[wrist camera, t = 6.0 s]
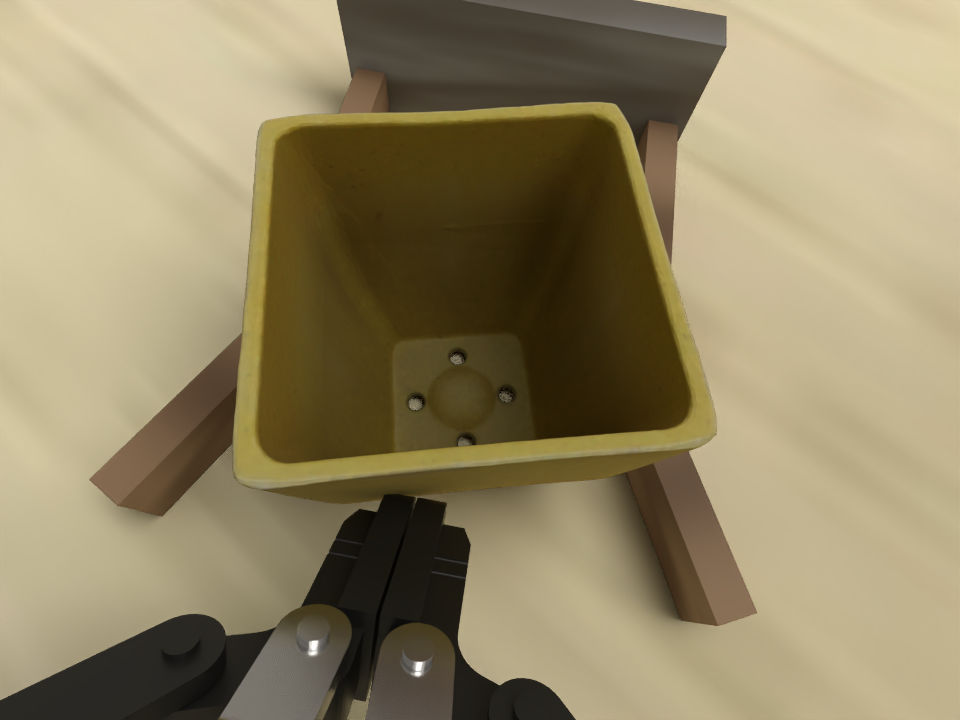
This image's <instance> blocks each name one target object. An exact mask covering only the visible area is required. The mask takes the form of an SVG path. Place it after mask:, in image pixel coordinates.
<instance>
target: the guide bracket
mask: <svg viewBox="0 0 960 720" xmlns="http://www.w3.org/2000/svg"><path fill="white" fill-rule="evenodd" d="M337 5H338V10H339V15H340V20H341V25H342V31H343V36H344V41H345V46H346V51H347V56H348V61H349V67H350V72H351V77H352V81H351V83H350V86H349V88H348V91H347V93H346V96H345V98H344V101H343V103H342V106H341V108H340V111H339V114H349V113H413V112H440V111H466V110H476V109H490V108H500V107H522V106H535V105H545V104H564V103H578V102H582V103H587V102H603V103H613V104H615V105H617V107H618V108H619V109H620V111H621V112H622V114H623V115H624V117H625V119H626V120H627V122H628V124H629V126H630V128H631V130H632V133H633V136H634V139H635V143H636V147H637V150H638V153H639V157H640V162H641V164H642V167H643V172H644V174H645V178H646V181H647V185H648V189H649V193H650V197H651V200H652V204H653V208H654V211H655V215H656V218H657V221H658V224H659V228H660V231H661V235H662V238H663V241H664V245H665V249H666V252H667V255H668V258H669V261H670V265H671V260H672V240H673V220H674V199H675V179H676V159H677V142H678V140H679V138H680V136H681V134H682V132H683V130H684V128H685V126H686V124H687V122H688V120H689V118H690V116H691V115H692V113H693V111H694V109H695V107H696V105H697V103H698V101H699V99H700V97H701V95H702V93H703V91H704V89H705V87H706V85H707V83H708V81H709V79H710V77H711V75H712V73H713V71H714V70H715V68H716V66H717V64H718V62H719V60H720V58H721V56H722V54H723V52H724V50H725V48H726V16H722V15H716V14H711V13H705V12H699V11H693V10H687V9H681V8H676V7H670V6H664V5H658V4H652V3H647V2H641V1H635V0H337ZM241 341H242V333H241V334H240V335H239V336H238V337H237V338H236V339H235V340H234V341H233V342H232V343H231V344H230V345H229V346H228V347H227V348H226V349H225V350H224V351H223V352H222V353H221V354H219V355H218V356H217V357H216V358H215V359H214V360H213V361H212V362H211V363H210V364H209V365H208V366H207V367H206V368H205V369H204V370H203V371H202V372H201V373H200V374H199V375H198V376H197V377H196V378H194V379H193V380H192V381H191V382H190V383H189V384H188V385H187V386H186V387H185V388H184V389H183V390H182V391H181V392H180V393H179V394H178V395H177V396H176V397H175V398H174V399H173V400H172V401H170V402H169V403H168V404H167V405H166V406H165V407H164V408H163V409H162V410H161V411H160V412H159V413H158V414H157V415H156V416H155V417H154V418H153V419H152V420H151V421H150V422H149V423H148V424H147V425H145V426H144V427H143V428H142V429H141V430H140V431H139V432H138V433H137V434H136V435H135V436H134V437H133V438H132V439H131V440H130V441H129V442H128V443H127V444H126V445H125V446H124V447H123V448H121V449H120V450H119V451H118V452H117V453H116V454H115V455H114V456H113V457H112V458H111V459H110V460H109V461H108V462H107V463H106V464H105V465H104V466H103V467H102V468H101V469H100V470H99V471H98V472H96V473H95V474H94V475H93V476H92V477H91V478H90V479H89V480H90V481H91V482H92V483H93V484H94V485H96V486H97V487H98V488H99V489H100V490H101V491H102V492H103V493H104V494H105V495H107V496H108V497H109V498H110V499H111V500H112V501H113V502H114V503H115V504H116V505H117V506H122V507H126V508H130V509H134V510H138V511H142V512H146V513H150V514H155V515H159V516H163V515H164V514H165V513H166V512H167V510H168V509H169V508H170V507H171V506H172V505H173V504H174V503H175V502H176V501H177V500H178V499H179V498H180V497H181V496H182V495H183V494H184V493H185V492H186V491H187V490H188V489H189V487H190V486H191V485H192V484H193V483H194V482H195V481H196V480H197V479H198V478H199V477H200V476H201V475H202V474H203V473H204V472H205V471H206V470H207V469H208V468H209V467H210V466H211V464H212V463H213V462H214V461H215V460H216V459H217V458H218V457H219V456H220V455H221V454H222V453H223V452H224V451H225V450H226V449H227V448H228V447H229V446H230V445H231V444H232V443H233V429H234V415H235V407H236V395H237V379H238V366H239V359H240V351H241ZM626 474H627V476H628V479H629V482H630V484H631V487H632V490H633V492H634V495H635V498H636V500H637V503H638V506H639V508H640V511H641V514H642V516H643V519H644V522H645V524H646V527H647V530H648V532H649V535H650V538H651V540H652V543H653V546H654V549H655V551H656V554H657V557H658V559H659V562H660V565H661V567H662V570H663V573H664V575H665V578H666V581H667V583H668V586H669V589H670V591H671V594H672V597H673V599H674V602H675V605H676V607H677V610H678V613H679V615H680V618H681V621H688V622H694V623H701V624H708V625H714V626H720V625H723V624H726V623H729V622H732V621H735V620H738V619H741V618H744V617H747V616H750V615H753V614H756V613H757V611H756V609H755V607H754V604H753V602H752V600H751V597H750V595H749V593H748V590H747V588H746V585H745V583H744V581H743V578H742V576H741V574H740V571H739V569H738V567H737V564H736V562H735V560H734V557H733V555H732V553H731V550H730V548H729V545H728V543H727V541H726V538H725V536H724V534H723V531H722V529H721V527H720V524H719V522H718V520H717V517H716V515H715V513H714V510H713V508H712V505H711V503H710V501H709V498H708V496H707V494H706V491H705V489H704V487H703V484H702V482H701V480H700V477H699V475H698V473H697V470H696V468H695V465H694V463H693V461H692V458H691V456H690V454H689V451H687V452H684V453H682V454H679V455H676V456H673V457H670V458H667V459H664V460H661V461H658V462H655V463H652V464H649V465H646V466H643V467H640V468H637V469H634V470H631V471H628V472H626Z"/></svg>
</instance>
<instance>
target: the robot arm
mask: <svg viewBox="0 0 960 720" xmlns="http://www.w3.org/2000/svg"><path fill="white" fill-rule="evenodd" d="M415 500H416V498H415V497H412V496H406V495H401V494H386V495H384V497H383V499H382V501H381V504H380V506H379V508H378V511H377V512H374V511H368V510H363V509H359V510H358V511H356V512H355V513H354V514H353V515H351V516H350V517H349V518H347V519H346V520H345V521H344V522H343V524H342V526H341V528H340V530H339V532H338V534H337V536H336V540H335V541H334V542H333V544H332V546H331V548H330V550H329V554H327V556H326V558H325V560H324V562H323V564H322V566H321V568H320V570H319V572H318V574H317V576H316V578H315V580H314V582H313V584H312V586H311V588H310V590H309V592H308V594H307V596H306V598H305V600H304V602H303V604H302V606H301V607H300V608H298V609H296V610H294V611H292V612H290V613H289V614H288V615H286V616H285V617H284V618H283V619H282V620H281V621H280V623H279V624H278V625H277V627H275V628H273V629H270V630H267V631H263V632H258V633H250V634H240V635H230V636H226V634H225V630H224V628H223V626H222V625H221V624H220V623H219V622H218V621H217V620H216V619H214V618H212V617H210V616H206V615H201V614H188V615H182V616H178V617H175V618H172V619H170V620H167V621H165V622H163V623H161V624H159V625H157V626H155V627H153V628H150V629H148V630H146V631H144V632H142V633H140V634H138V635H136V636H134V637H132V638H130V639H127V640H125V641H123V642H121V643H119V644H117V645H115V646H113V647H111V648H109V649H107V650H104V651H102V652H100V653H98V654H96V655H94V656H92V657H90V658H88V659H86V660H84V661H82V662H79V663H77V664H75V665H73V666H71V667H69V668H67V669H65V670H63V671H61V672H59V673H56V674H54V675H52V676H50V677H48V678H46V679H44V680H42V681H40V682H38V683H36V684H34V685H31V686H29V687H27V688H25V689H23V690H21V691H19V692H17V693H15V694H13V695H11V696H8V697H6V698H4V699H2V700H0V720H347V717H348V714H349V711H350V708H351V705H352V701H353V699H355V700H360V701H365V702H366V699H367V695H368V692H369V688H370V685H371V682H372V686H371V694H370V700H369V705H368V709H367V714H366V719H365V720H576V719H575V718H574V717H573V715H572V714H571V713H570V711H569V710H568V709H567V708H566V706H565V705H564V704H563V702H562V701H561V700H560V698H559V697H558V696H557V695H556V694H555V693H554V692H553V691H552V690H551V689H550V688H548V687H547V686H545V685H544V684H542V683H540V682H538V681H535V680H532V679H526V678H517V679H512V680H509V681H507V682H505V683H503V684H502V685H500V686H499V685H498V684H496V683H494V682H492V681H490V680H488V679H487V678H485V677H483V676H481V675H480V674H478V673H477V672H476V671H475V670H473V669H472V668H471V667H470V666H469V665H468V664H467V662H466V661H465V659H464V658H463V656H462V654H461V652H460V649H459V646H458V629H459V622H460V615H461V608H462V601H463V594H464V588H465V581H466V574H467V567H468V560H469V553H470V546H471V544H470V542H469V539H468V537H467V534H466V532H465V529H464V528H460V527H454V526H449V525H444V519H445V513H446V507H447V503H445V502H439V501H434V500H429V499H423V498H418V499H417V501H416V504H415Z"/></svg>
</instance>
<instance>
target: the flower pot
mask: <svg viewBox="0 0 960 720" xmlns="http://www.w3.org/2000/svg"><path fill="white" fill-rule="evenodd" d="M457 351H459V352H462V353H463V354H464V355H465V361H464V362H463V363H462V364H459V365H455V364H453V363H452V362H451V360H450V357H451V355H452V353H454V352H457ZM503 388H509V389H511V390H512V391H513V393H514V398H513V400H512V401H511V402H508V403H506V402H503V401H502V400H500V398H499V396H498V394H499V391H500V390H501V389H503ZM413 396H421V397H422V398H423V399H424V406H423V408H421V409H420V410H416V411H415V410H412V409H410V407H409V405H408V402H409V400H410V398H411V397H413ZM716 432H717V422H716V414H715V409H714V404H713V401H712V398H711V394H710V391H709V387H708V383H707V380H706V376H705V373H704V370H703V367H702V364H701V360H700V356H699V353H698V350H697V348H696V345H695V342H694V338H693V335H692V332H691V329H690V326H689V324H688V320H687V317H686V313H685V310H684V306H683V303H682V300H681V296H680V293H679V290H678V287H677V284H676V281H675V278H674V274H673V271H672V268H671V265H670V261H669V258H668V255H667V252H666V249H665V245H664V241H663V238H662V235H661V231H660V228H659V224H658V221H657V218H656V215H655V211H654V208H653V204H652V200H651V197H650V193H649V189H648V185H647V181H646V178H645V174H644V172H643V167H642V164H641V162H640V157H639V153H638V150H637V147H636V143H635V139H634V136H633V133H632V130H631V128H630V126H629V124H628V122H627V120H626V119H625V117H624V115H623V114H622V112H621V111H620V109H619V108H618V107H617V105H615V104H613V103H603V102H587V103H582V102H578V103H564V104H545V105H535V106H522V107H500V108H490V109H476V110H466V111H440V112H413V113H349V114H309V115H299V116H290V117H284V118H278V119H271V120H267V121H265V122H263V123H262V124H261V126H260V128H259V131H258V136H257V145H256V162H255V175H254V187H253V204H252V220H251V234H250V244H249V255H248V269H247V282H246V292H245V301H244V312H243V329H242V341H241V351H240V359H239V366H238V379H237V395H236V407H235V415H234V429H233V473H234V478H235V479H236V480H237V481H238V482H239V483H240V484H242V485H244V486H246V487H249V488H253V489H259V490H264V491H269V492H274V493H279V494H283V495H287V496H293V497H298V498H304V499H310V500H316V501H322V502H327V503H338V504H346V503H360V502H368V501H376V500H382V499H383V497H384V495H386V494H401V495H406V496H420V495H429V494H439V493H448V492H457V491H467V490H477V489H488V488H499V487H509V486H520V485H532V484H545V483H558V482H571V481H584V480H595V479H601V478H608V477H612V476H615V475H618V474H622V473H625V472H628V471H631V470H634V469H637V468H640V467H643V466H646V465H649V464H652V463H655V462H658V461H661V460H664V459H667V458H670V457H673V456H676V455H679V454H682V453H684V452H687V451H690V450H693V449H695V448H698V447H701V446H702V445H704V444H706V443H707V442H709V441H710V440H711V439H712V438H713V437H714V436H715V435H716ZM464 435H468V436H470V437H471V438H472V439H473V441H474V445H469V446H459V447H458V439H459V438H460V437H461V436H464Z"/></svg>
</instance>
